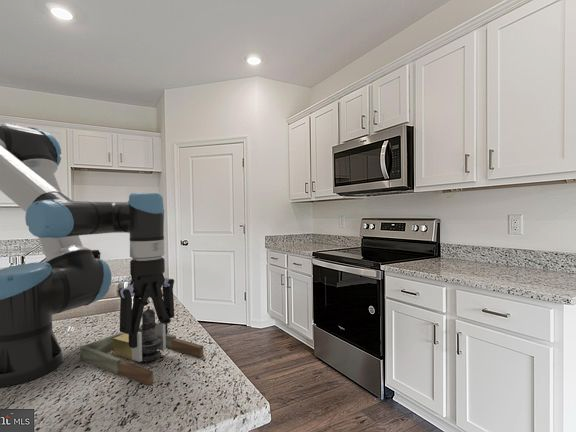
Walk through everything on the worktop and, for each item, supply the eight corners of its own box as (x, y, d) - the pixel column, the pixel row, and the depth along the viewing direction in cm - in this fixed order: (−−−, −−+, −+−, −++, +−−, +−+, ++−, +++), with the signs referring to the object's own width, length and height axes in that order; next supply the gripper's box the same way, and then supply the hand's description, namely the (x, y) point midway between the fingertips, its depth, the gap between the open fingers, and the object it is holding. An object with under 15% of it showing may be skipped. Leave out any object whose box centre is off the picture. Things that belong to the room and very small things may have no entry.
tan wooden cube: (134, 360, 77) (134, 343, 77) (123, 357, 79) (123, 340, 79) (148, 353, 81) (148, 337, 81) (137, 350, 83) (137, 335, 83)
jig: (146, 386, 66) (146, 371, 66) (80, 359, 78) (80, 346, 78) (204, 355, 79) (204, 343, 79) (139, 336, 92) (139, 326, 92)
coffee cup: (85, 271, 193) (85, 250, 193) (101, 270, 197) (101, 249, 197) (83, 274, 185) (82, 251, 185) (100, 273, 189) (99, 250, 189)
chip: (123, 357, 79) (123, 341, 79) (113, 354, 81) (112, 338, 81) (137, 350, 83) (137, 335, 83) (127, 348, 84) (127, 332, 84)
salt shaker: (154, 348, 82) (153, 301, 81) (167, 355, 78) (166, 305, 78) (131, 356, 77) (130, 306, 77) (143, 364, 73) (142, 311, 73)
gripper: (119, 265, 67) (121, 376, 68) (189, 254, 83) (190, 343, 84) (98, 262, 71) (100, 367, 71) (169, 252, 87) (170, 337, 88)
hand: (149, 354), depth 78 cm, fingers closed on salt shaker, 6 cm apart
